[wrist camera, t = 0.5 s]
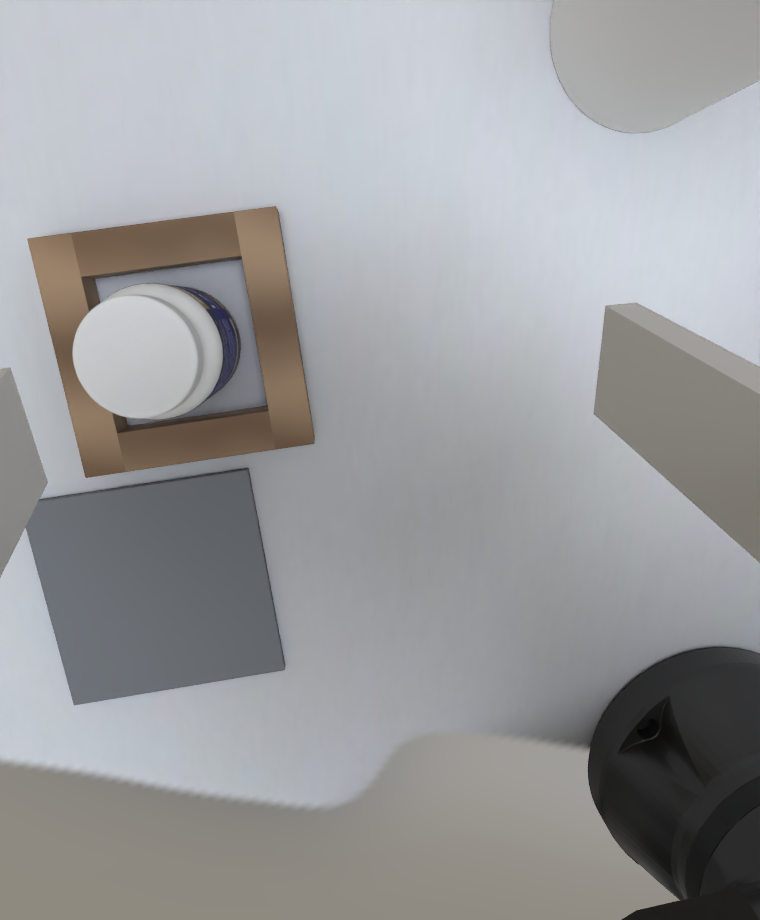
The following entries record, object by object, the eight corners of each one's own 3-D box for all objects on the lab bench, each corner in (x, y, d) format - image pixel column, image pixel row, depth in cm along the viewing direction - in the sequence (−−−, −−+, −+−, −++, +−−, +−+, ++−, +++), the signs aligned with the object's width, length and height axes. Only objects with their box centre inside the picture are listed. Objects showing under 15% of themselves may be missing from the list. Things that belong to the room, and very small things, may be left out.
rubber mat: (284, 665, 40) (284, 670, 39) (77, 700, 39) (73, 705, 39) (248, 467, 37) (247, 470, 37) (23, 502, 36) (19, 504, 36)
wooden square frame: (314, 436, 37) (314, 443, 35) (98, 468, 36) (85, 477, 34) (278, 211, 34) (275, 206, 32) (44, 242, 34) (27, 238, 32)
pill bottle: (233, 282, 35) (201, 273, 25) (248, 393, 36) (223, 425, 27) (119, 292, 35) (42, 288, 25) (138, 403, 36) (72, 441, 26)
